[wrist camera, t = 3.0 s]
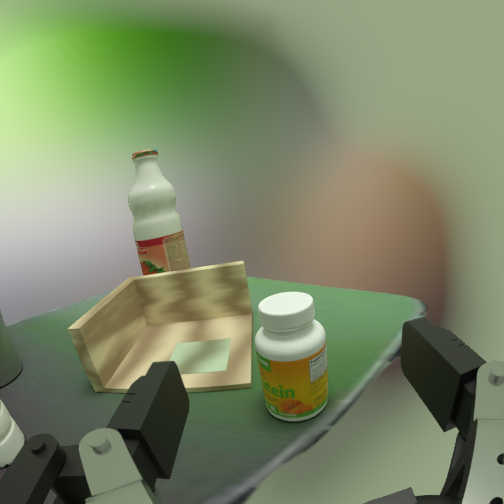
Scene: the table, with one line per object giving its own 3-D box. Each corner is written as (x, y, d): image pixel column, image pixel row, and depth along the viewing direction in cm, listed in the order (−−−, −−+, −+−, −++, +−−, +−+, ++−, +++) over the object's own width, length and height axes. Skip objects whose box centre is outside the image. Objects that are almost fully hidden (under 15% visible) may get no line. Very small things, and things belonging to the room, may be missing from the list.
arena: (95, 391, 27) (67, 328, 25) (142, 325, 44) (128, 277, 43) (251, 387, 26) (236, 313, 25) (252, 312, 44) (243, 260, 42)
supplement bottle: (253, 409, 23) (232, 310, 21) (290, 377, 27) (278, 285, 25) (305, 431, 20) (294, 325, 17) (339, 392, 23) (336, 292, 21)
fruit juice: (201, 294, 55) (172, 142, 49) (152, 308, 51) (120, 152, 45) (189, 282, 63) (164, 152, 57) (147, 294, 60) (120, 160, 54)
